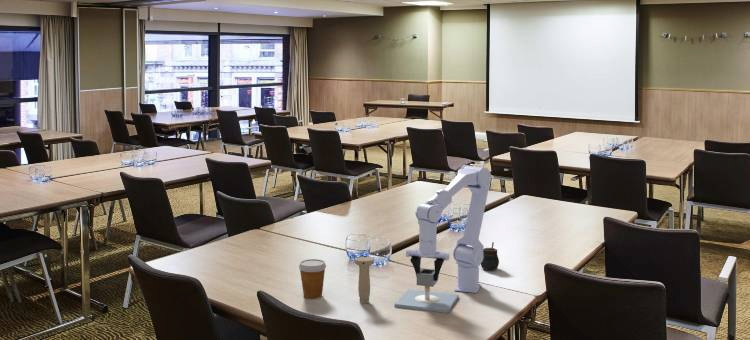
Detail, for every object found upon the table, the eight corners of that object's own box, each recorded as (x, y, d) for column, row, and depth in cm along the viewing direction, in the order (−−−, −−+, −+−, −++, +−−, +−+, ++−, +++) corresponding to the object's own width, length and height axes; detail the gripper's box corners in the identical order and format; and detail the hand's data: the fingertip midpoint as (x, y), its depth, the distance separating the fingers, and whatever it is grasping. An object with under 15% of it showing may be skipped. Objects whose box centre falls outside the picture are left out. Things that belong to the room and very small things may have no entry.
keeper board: (408, 291, 246) (408, 275, 245) (458, 297, 240) (458, 280, 239) (394, 306, 231) (394, 289, 230) (447, 313, 225) (447, 295, 224)
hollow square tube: (421, 279, 238) (421, 268, 238) (437, 281, 237) (437, 269, 236) (416, 285, 233) (416, 273, 232) (432, 286, 231) (433, 275, 230)
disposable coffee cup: (330, 298, 239) (329, 264, 238) (303, 302, 236) (302, 267, 234) (321, 290, 248) (321, 257, 246) (295, 293, 245) (295, 260, 243)
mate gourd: (478, 270, 271) (479, 245, 269) (481, 265, 278) (482, 241, 277) (497, 272, 269) (498, 247, 267) (499, 267, 276) (500, 242, 274)
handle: (355, 299, 238) (355, 256, 236) (374, 299, 238) (374, 257, 236) (354, 304, 234) (354, 260, 231) (373, 304, 233) (373, 261, 231)
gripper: (403, 240, 231) (403, 280, 233) (446, 244, 226) (445, 284, 228) (409, 235, 238) (409, 274, 240) (451, 239, 233) (450, 278, 235)
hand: (427, 278), depth 234 cm, fingers closed on hollow square tube, 6 cm apart
